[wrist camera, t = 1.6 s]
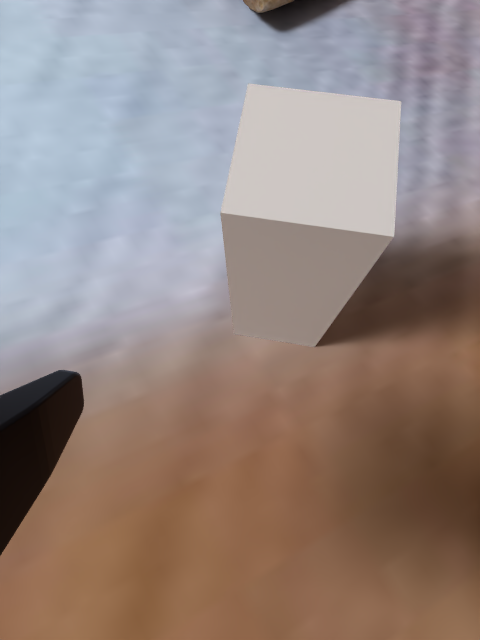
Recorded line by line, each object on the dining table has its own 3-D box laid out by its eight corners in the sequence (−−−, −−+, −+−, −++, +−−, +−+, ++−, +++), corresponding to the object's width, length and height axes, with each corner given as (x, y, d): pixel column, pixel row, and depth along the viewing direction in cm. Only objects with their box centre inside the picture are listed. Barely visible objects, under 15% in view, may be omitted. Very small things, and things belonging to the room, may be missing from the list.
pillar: (314, 347, 21) (394, 236, 10) (233, 334, 22) (220, 212, 10) (322, 272, 23) (401, 101, 11) (246, 261, 23) (247, 83, 12)
